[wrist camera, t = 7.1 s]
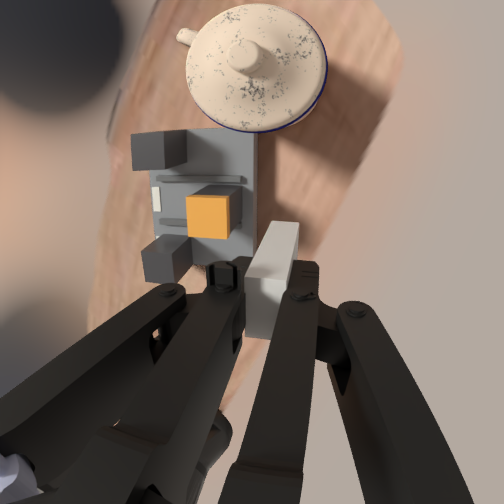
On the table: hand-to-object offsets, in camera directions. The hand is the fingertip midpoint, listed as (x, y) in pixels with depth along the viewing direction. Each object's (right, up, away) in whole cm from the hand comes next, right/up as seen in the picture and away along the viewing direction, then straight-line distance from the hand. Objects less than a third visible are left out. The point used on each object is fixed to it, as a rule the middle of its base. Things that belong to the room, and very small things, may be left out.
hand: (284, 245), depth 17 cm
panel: (-6, +5, +13) cm, 15 cm away
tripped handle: (-4, +4, +10) cm, 12 cm away
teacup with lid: (-1, +15, +7) cm, 17 cm away
